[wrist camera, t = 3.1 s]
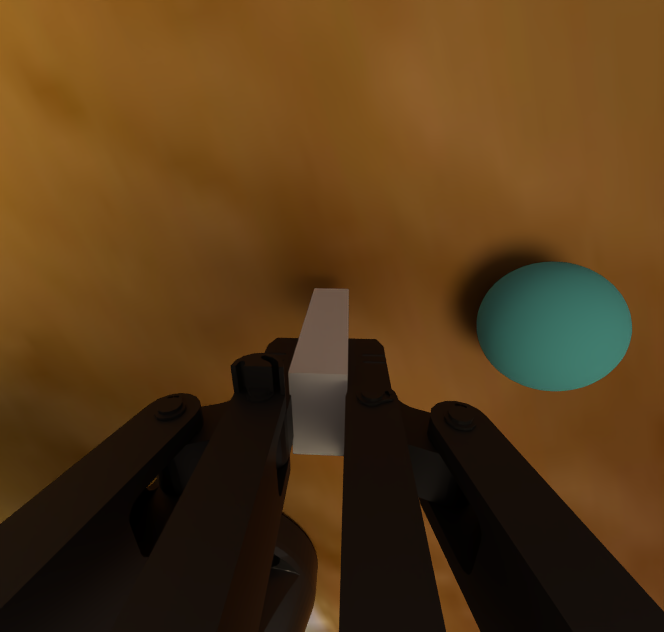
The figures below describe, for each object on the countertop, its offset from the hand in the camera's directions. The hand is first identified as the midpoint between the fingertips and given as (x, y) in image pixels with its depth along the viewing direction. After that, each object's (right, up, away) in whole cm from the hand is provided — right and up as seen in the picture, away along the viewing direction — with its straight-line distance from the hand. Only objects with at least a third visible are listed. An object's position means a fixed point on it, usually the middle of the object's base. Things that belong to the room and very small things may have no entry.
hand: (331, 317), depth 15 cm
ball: (+9, 0, 0) cm, 9 cm away
